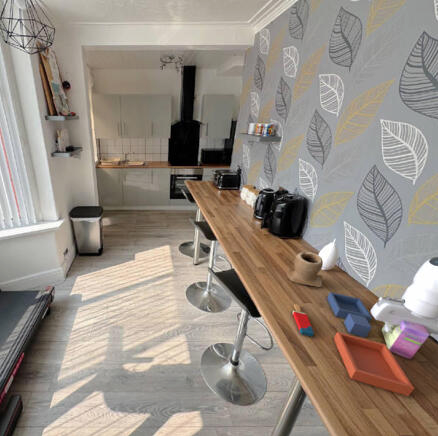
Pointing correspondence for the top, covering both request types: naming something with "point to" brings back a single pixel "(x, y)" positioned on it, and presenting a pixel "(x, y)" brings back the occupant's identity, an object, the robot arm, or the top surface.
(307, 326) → the popsicle
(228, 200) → the top surface
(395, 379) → the terracotta bin
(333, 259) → the sauce bottle
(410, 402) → the top surface
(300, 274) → the stone cup
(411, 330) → the box
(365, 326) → the slate block
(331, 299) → the slate bin
